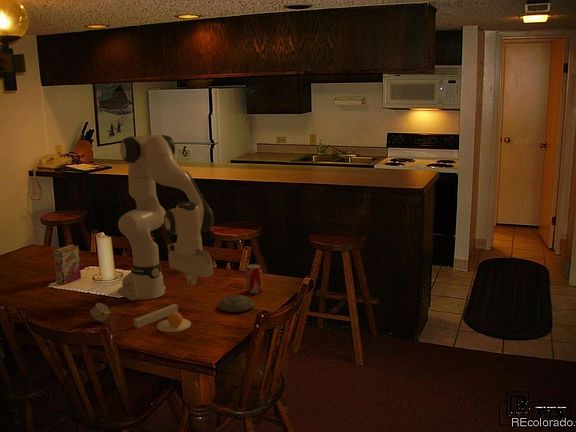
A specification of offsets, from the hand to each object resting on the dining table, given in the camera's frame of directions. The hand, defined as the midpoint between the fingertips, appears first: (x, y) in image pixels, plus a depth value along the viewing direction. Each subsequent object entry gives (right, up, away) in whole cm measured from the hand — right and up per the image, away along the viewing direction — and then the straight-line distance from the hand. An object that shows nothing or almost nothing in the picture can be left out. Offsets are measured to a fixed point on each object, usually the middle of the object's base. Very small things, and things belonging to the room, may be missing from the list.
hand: (191, 283), depth 214 cm
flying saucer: (+14, -13, +29) cm, 35 cm away
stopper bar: (-17, -16, +17) cm, 29 cm away
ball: (-8, -15, +10) cm, 19 cm away
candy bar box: (-69, -6, +64) cm, 94 cm away
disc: (-9, -17, +11) cm, 22 cm away
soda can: (+20, -9, +46) cm, 51 cm away
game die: (-38, -17, +16) cm, 44 cm away
